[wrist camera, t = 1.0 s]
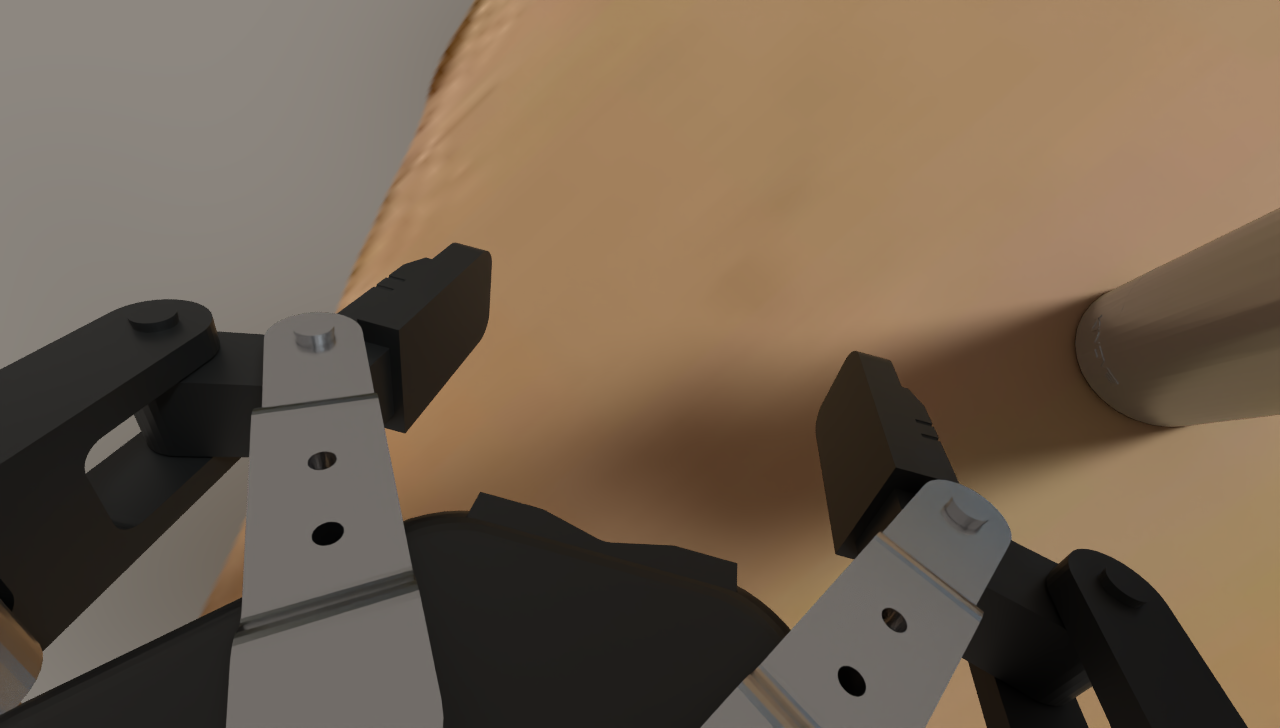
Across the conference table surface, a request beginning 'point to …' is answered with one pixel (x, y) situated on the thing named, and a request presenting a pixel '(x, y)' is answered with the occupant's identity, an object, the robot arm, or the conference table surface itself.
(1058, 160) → the conference table surface
